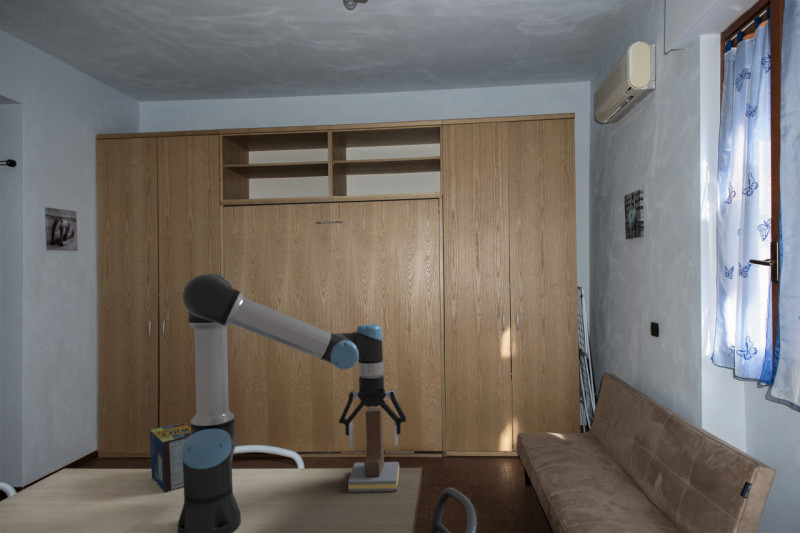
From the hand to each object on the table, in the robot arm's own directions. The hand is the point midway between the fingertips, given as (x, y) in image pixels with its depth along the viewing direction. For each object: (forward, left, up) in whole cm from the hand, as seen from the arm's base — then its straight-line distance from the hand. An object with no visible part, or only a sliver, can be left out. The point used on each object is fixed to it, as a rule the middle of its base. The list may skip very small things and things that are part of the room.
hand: (373, 445), depth 154 cm
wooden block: (0, 0, -8) cm, 8 cm away
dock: (0, 0, -11) cm, 11 cm away
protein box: (-64, +3, -11) cm, 65 cm away
